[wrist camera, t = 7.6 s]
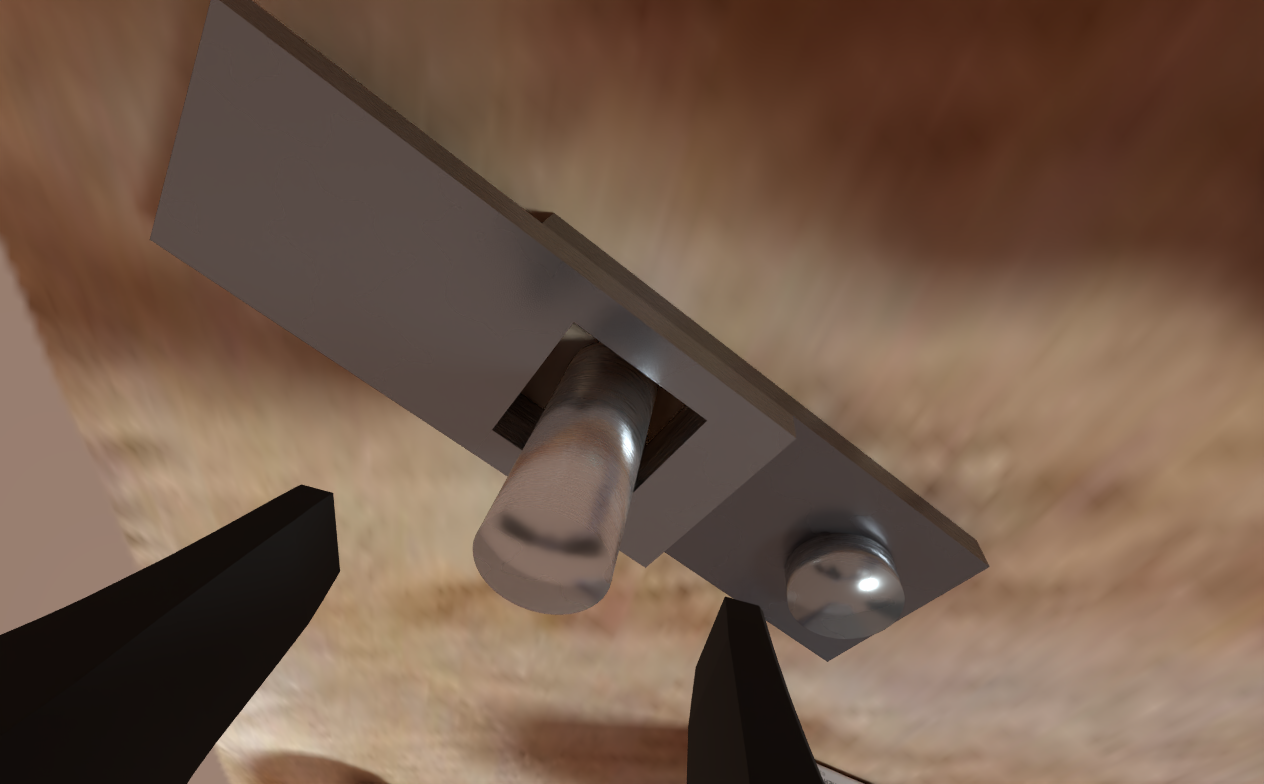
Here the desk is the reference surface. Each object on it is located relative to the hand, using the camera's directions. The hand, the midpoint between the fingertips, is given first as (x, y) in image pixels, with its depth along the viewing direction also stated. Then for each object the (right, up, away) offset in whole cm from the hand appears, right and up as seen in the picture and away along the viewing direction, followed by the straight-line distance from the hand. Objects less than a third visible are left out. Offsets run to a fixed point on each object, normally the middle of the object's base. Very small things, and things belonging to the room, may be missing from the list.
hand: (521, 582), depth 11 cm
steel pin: (+1, +4, +9) cm, 9 cm away
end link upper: (-2, +6, +8) cm, 10 cm away
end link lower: (+5, +1, +9) cm, 11 cm away
